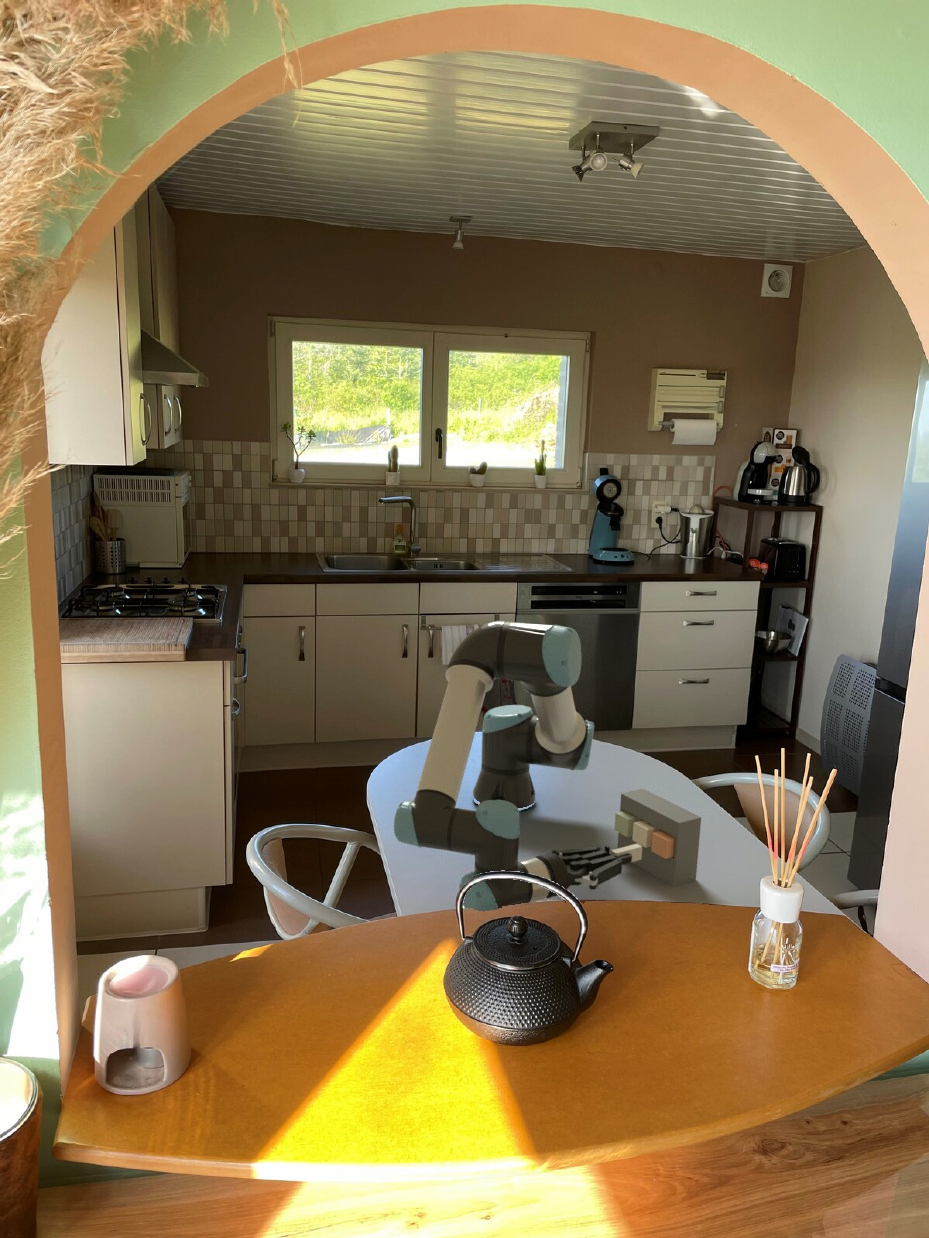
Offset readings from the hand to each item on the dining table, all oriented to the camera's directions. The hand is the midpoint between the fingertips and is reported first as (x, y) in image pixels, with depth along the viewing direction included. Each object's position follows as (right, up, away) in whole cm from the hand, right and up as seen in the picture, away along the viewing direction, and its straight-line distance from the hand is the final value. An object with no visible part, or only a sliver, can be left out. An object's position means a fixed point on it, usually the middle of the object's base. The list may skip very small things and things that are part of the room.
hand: (639, 851), depth 180 cm
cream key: (+3, 0, +9) cm, 9 cm away
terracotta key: (+6, -1, +4) cm, 7 cm away
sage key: (0, +1, +14) cm, 14 cm away
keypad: (+6, -7, +12) cm, 14 cm away
